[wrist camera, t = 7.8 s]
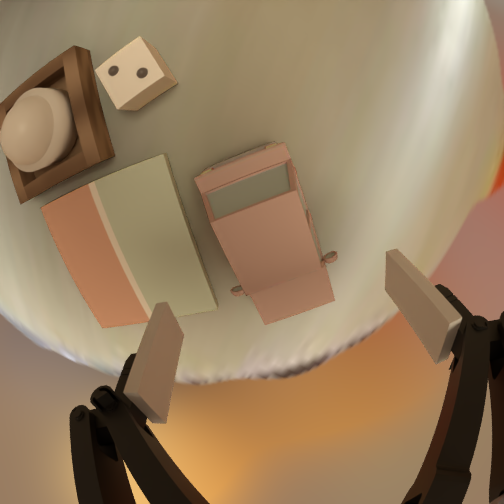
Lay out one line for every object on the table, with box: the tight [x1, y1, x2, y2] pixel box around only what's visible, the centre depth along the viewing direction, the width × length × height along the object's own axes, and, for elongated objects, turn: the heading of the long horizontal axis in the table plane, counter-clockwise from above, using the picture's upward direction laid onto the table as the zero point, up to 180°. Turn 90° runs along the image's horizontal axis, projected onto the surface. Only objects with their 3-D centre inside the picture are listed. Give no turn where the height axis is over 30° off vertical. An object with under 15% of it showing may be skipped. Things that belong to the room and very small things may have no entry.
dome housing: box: [0, 45, 115, 204], centre depth 19 cm, size 12×12×3 cm
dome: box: [0, 88, 78, 172], centre depth 16 cm, size 8×8×7 cm
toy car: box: [194, 141, 337, 325], centre depth 22 cm, size 9×15×10 cm, turn 22°
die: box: [95, 36, 178, 111], centre depth 17 cm, size 4×4×5 cm
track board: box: [41, 153, 218, 328], centre depth 26 cm, size 17×16×1 cm
